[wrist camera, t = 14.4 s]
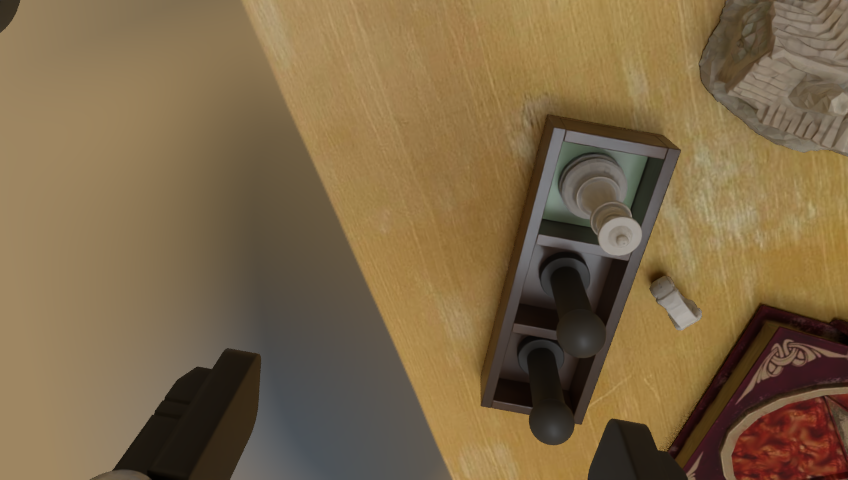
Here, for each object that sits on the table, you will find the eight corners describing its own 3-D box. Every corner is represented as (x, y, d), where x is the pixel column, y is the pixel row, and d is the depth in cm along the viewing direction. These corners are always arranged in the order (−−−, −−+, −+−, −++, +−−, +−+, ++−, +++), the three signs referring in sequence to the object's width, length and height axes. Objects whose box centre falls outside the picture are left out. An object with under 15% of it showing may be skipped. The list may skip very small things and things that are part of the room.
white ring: (639, 278, 44) (654, 306, 40) (664, 262, 43) (682, 289, 39) (666, 310, 44) (683, 340, 41) (691, 294, 44) (710, 324, 40)
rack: (480, 377, 49) (480, 406, 45) (547, 114, 39) (553, 126, 36) (574, 394, 48) (581, 425, 45) (664, 135, 39) (681, 150, 36)
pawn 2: (512, 365, 47) (520, 453, 38) (522, 328, 45) (533, 411, 37) (556, 373, 47) (574, 462, 38) (568, 337, 45) (589, 421, 37)
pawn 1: (533, 289, 44) (547, 366, 35) (545, 247, 42) (563, 316, 34) (580, 298, 44) (606, 376, 35) (594, 256, 42) (624, 328, 34)
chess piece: (566, 219, 41) (591, 288, 32) (551, 162, 40) (573, 218, 31) (629, 202, 40) (673, 268, 31) (616, 143, 39) (659, 195, 30)
